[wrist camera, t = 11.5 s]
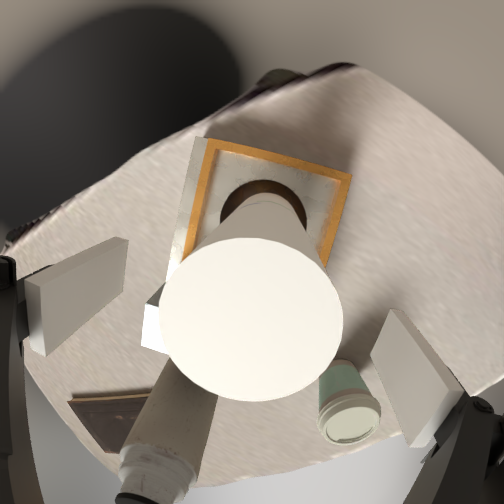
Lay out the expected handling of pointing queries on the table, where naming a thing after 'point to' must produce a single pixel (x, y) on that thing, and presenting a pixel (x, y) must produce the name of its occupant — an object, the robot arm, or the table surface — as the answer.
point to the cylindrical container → (252, 306)
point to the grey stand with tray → (237, 191)
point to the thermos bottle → (166, 441)
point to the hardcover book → (109, 418)
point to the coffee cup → (346, 405)
